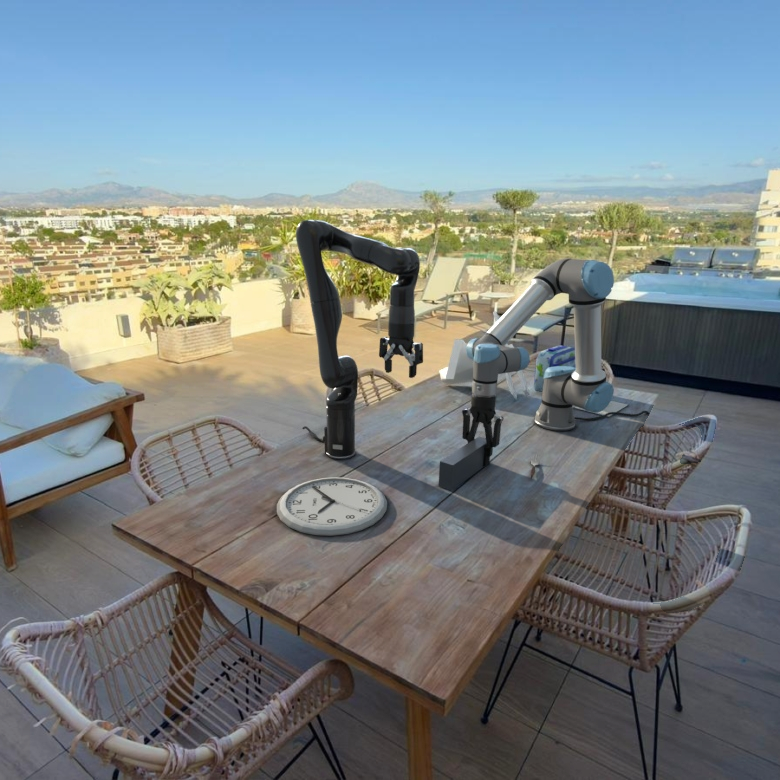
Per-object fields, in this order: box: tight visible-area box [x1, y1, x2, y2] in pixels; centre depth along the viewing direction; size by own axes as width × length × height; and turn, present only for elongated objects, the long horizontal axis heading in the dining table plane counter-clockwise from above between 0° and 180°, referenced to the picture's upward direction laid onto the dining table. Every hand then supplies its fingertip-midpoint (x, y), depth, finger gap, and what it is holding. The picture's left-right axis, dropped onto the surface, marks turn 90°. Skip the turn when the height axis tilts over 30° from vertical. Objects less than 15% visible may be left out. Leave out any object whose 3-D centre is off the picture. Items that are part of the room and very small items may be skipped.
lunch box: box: [533, 345, 576, 393], centre depth 245 cm, size 26×11×21 cm, turn 135°
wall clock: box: [276, 476, 388, 537], centre depth 142 cm, size 30×2×30 cm
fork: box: [530, 454, 541, 480], centre depth 166 cm, size 3×16×2 cm, turn 160°
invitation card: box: [573, 400, 629, 418], centre depth 226 cm, size 21×1×15 cm
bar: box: [438, 436, 491, 491], centre depth 161 cm, size 24×4×8 cm, turn 143°
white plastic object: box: [438, 310, 531, 400], centre depth 245 cm, size 37×45×31 cm
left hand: (400, 374), depth 155 cm, fingers open, 8 cm apart
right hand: (478, 462), depth 169 cm, fingers closed on bar, 4 cm apart
